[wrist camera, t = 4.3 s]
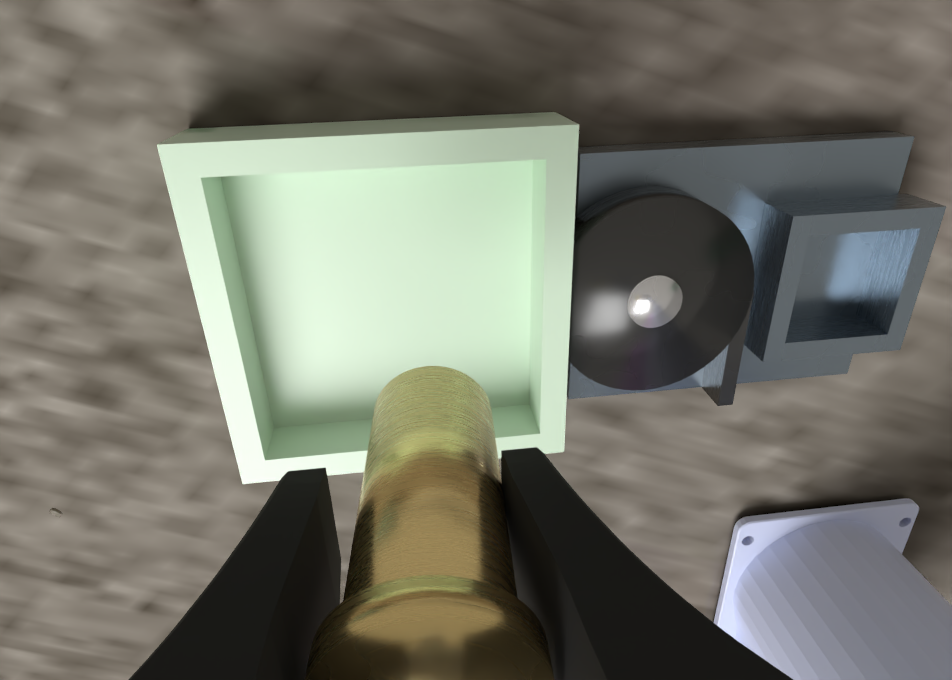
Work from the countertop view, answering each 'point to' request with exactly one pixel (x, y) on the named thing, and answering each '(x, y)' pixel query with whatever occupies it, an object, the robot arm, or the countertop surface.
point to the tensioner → (741, 260)
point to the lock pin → (431, 549)
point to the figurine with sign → (55, 512)
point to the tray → (377, 273)
